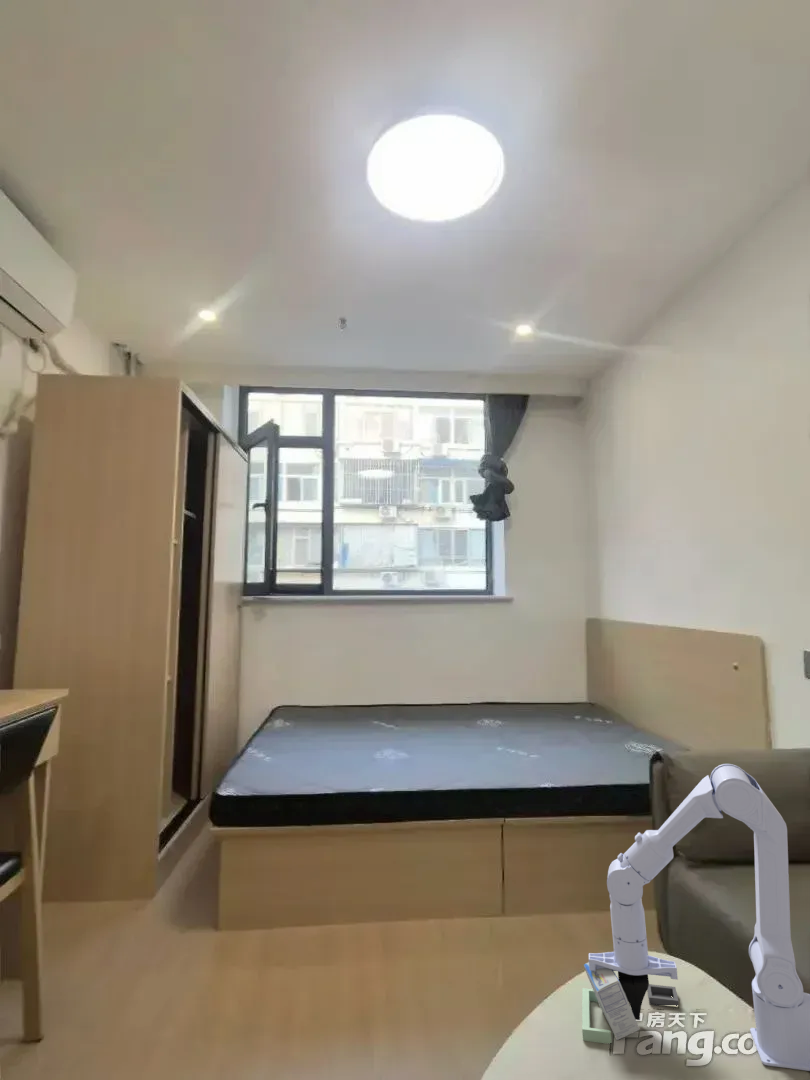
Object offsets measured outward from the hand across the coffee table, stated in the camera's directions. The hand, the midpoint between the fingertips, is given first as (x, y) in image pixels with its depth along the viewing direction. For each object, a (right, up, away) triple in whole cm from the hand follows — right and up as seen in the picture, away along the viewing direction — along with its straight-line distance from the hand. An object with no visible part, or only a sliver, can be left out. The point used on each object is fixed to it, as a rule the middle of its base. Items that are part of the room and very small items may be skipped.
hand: (636, 1015), depth 108 cm
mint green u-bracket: (-6, -2, +2) cm, 7 cm away
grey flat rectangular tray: (+7, -2, +6) cm, 10 cm away
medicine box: (-3, -1, 0) cm, 3 cm away
